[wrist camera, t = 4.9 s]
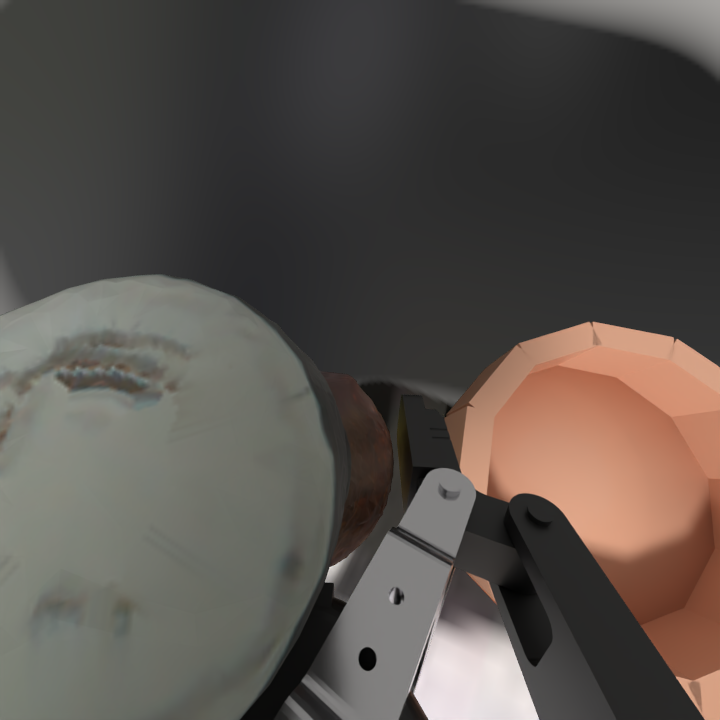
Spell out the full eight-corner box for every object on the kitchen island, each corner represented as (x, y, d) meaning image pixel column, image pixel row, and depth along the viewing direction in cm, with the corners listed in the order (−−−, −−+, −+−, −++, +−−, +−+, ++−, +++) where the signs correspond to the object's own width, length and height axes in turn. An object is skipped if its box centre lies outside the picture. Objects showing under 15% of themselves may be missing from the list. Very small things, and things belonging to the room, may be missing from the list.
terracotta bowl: (417, 603, 19) (436, 652, 14) (457, 331, 24) (480, 299, 19) (737, 689, 18) (878, 775, 13) (705, 381, 23) (796, 361, 18)
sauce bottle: (324, 392, 23) (144, 58, 4) (397, 443, 22) (643, 321, 3) (266, 471, 21) (-532, 561, 2) (342, 530, 20) (24, 1671, 1)
